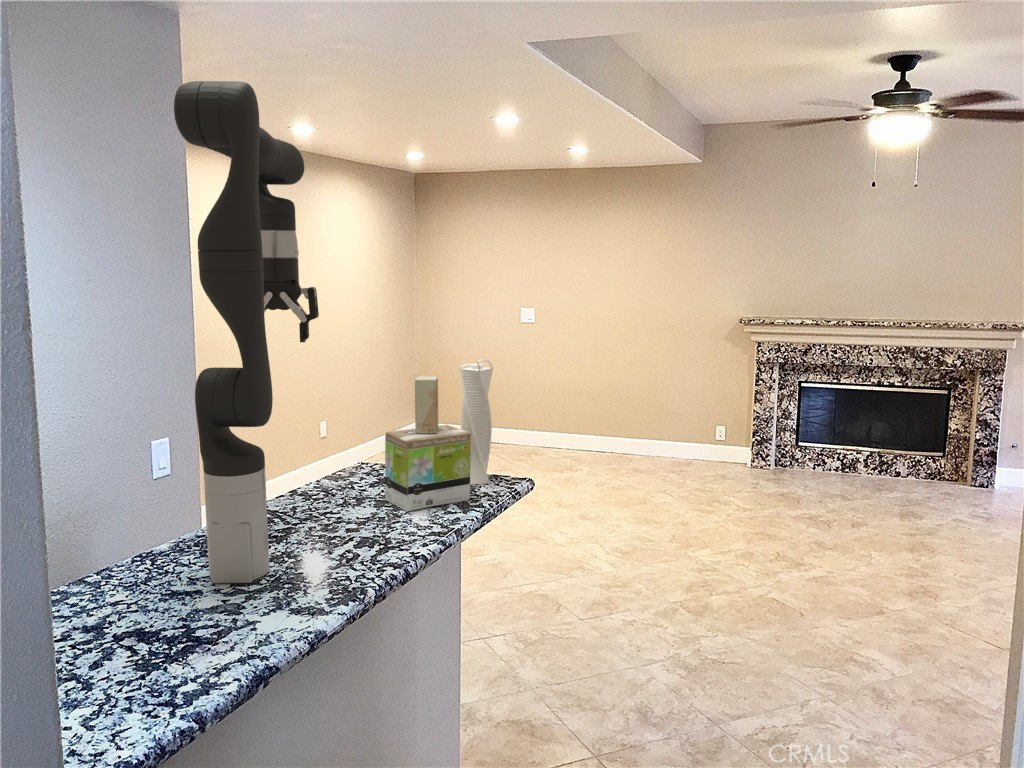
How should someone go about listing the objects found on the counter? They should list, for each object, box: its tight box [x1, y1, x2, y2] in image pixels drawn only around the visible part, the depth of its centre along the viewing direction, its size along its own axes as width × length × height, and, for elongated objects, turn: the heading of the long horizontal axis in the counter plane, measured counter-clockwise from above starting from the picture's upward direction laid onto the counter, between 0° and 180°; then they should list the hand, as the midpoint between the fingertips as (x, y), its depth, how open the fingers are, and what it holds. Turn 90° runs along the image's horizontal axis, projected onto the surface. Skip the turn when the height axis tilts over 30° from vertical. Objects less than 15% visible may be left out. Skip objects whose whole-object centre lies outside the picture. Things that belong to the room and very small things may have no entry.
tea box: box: [384, 424, 471, 513], centre depth 171 cm, size 15×10×15 cm, turn 126°
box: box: [414, 375, 439, 433], centre depth 169 cm, size 5×4×11 cm
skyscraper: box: [458, 358, 494, 486], centre depth 184 cm, size 8×8×28 cm
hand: (280, 341), depth 158 cm, fingers open, 8 cm apart
